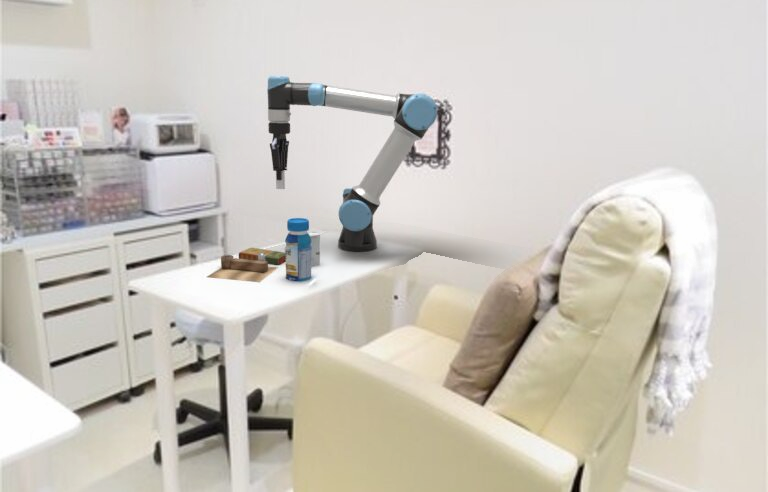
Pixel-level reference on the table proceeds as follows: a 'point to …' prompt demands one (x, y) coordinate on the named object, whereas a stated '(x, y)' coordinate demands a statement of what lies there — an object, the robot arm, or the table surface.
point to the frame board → (241, 274)
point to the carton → (270, 255)
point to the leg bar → (243, 264)
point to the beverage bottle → (298, 250)
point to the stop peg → (261, 257)
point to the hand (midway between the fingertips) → (280, 188)
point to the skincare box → (315, 249)
